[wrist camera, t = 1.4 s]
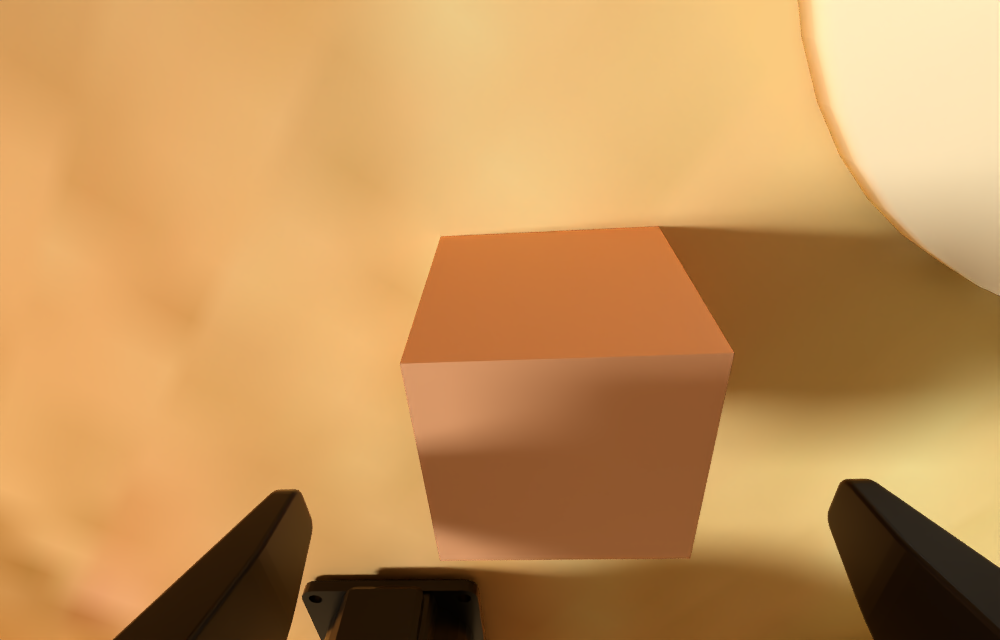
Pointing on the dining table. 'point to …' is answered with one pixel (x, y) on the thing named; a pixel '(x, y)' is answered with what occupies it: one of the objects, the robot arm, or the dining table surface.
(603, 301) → the block
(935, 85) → the plate
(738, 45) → the dining table surface
